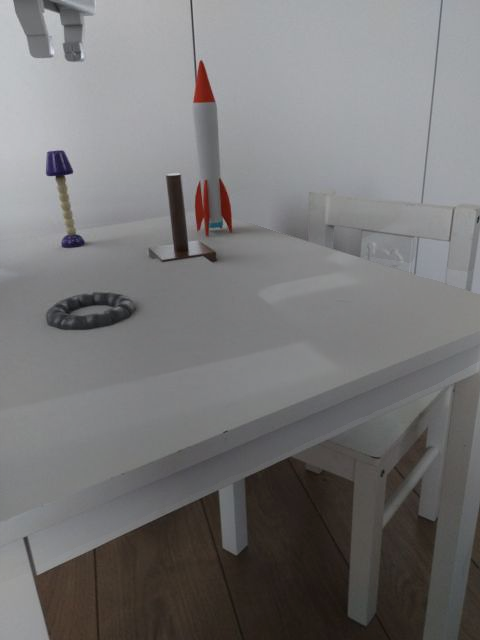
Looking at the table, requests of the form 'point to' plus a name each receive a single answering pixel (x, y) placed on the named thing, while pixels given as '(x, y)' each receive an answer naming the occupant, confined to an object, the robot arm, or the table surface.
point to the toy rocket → (208, 159)
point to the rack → (179, 229)
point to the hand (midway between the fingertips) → (60, 60)
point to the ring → (64, 321)
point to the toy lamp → (63, 194)
